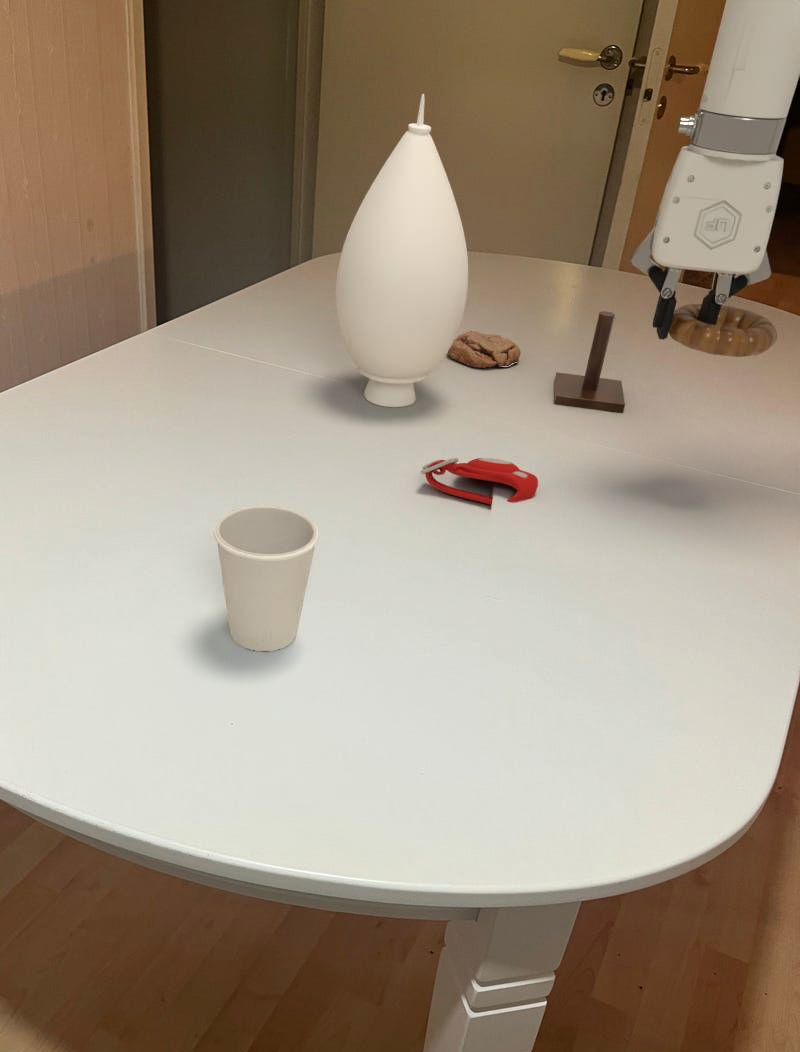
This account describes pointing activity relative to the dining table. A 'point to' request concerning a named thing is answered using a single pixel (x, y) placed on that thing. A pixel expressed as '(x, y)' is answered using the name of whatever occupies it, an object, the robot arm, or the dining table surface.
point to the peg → (592, 377)
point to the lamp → (403, 272)
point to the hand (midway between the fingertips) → (680, 335)
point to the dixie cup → (265, 572)
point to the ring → (723, 331)
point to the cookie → (484, 350)
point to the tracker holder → (483, 477)
